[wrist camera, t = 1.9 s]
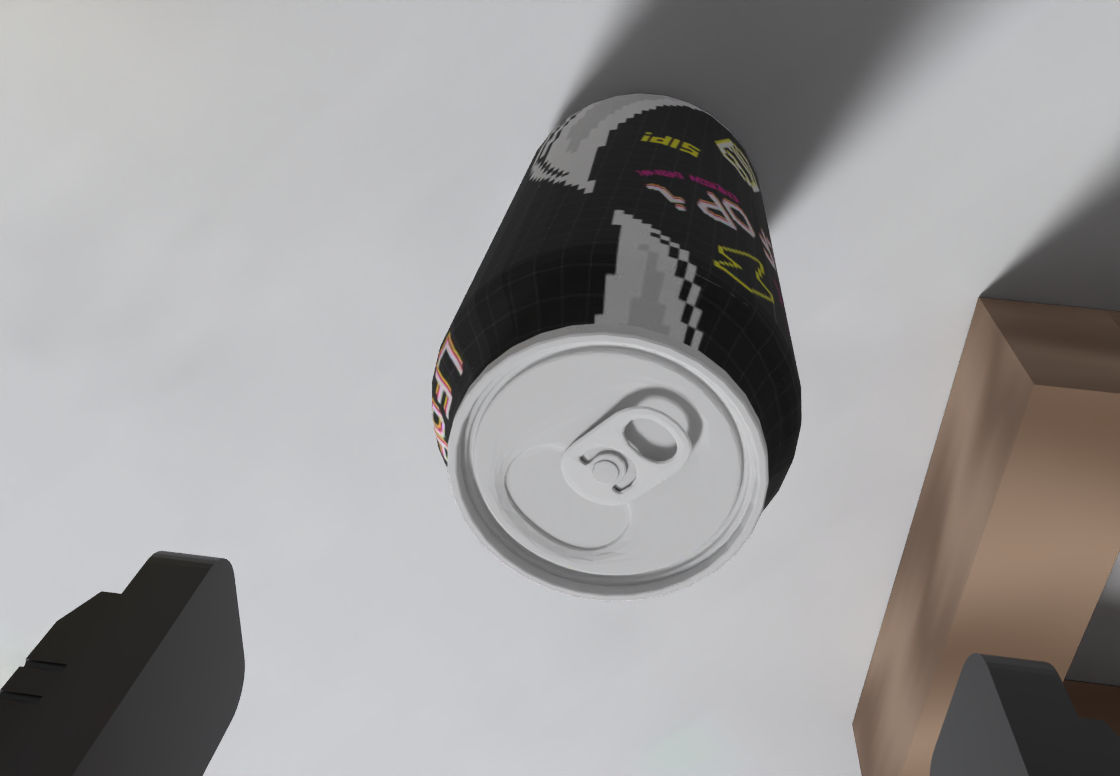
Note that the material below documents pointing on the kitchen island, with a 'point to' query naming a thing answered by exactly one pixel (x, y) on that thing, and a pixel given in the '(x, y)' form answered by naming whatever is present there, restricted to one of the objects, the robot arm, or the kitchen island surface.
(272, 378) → the kitchen island surface
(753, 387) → the beverage can
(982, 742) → the robot arm
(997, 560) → the socket block
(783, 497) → the kitchen island surface
